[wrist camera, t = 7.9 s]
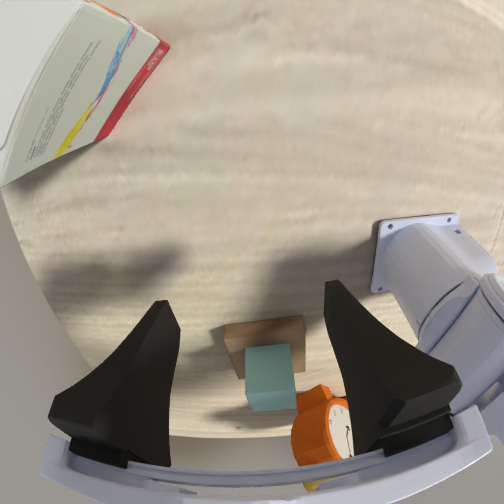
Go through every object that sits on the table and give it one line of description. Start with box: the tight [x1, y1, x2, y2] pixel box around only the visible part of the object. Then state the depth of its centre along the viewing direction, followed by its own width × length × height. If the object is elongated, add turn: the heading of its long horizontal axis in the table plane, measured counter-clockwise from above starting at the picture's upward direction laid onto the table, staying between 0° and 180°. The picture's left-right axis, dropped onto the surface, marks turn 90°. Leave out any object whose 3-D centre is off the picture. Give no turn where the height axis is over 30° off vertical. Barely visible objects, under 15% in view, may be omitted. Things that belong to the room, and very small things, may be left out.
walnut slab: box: [224, 315, 305, 379], centre depth 29 cm, size 8×8×2 cm
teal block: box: [245, 343, 297, 412], centre depth 26 cm, size 4×4×6 cm
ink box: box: [0, 0, 170, 188], centre depth 9 cm, size 9×9×12 cm
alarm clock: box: [291, 384, 354, 492], centre depth 30 cm, size 13×6×20 cm, turn 48°
